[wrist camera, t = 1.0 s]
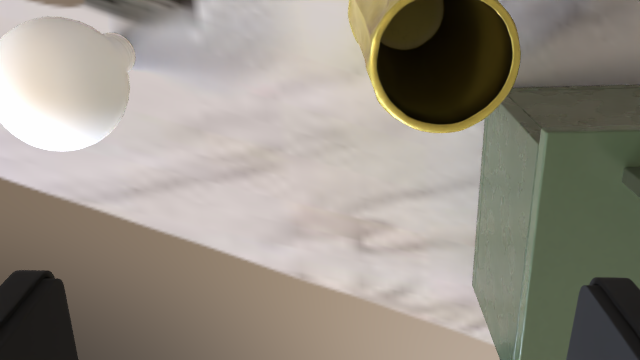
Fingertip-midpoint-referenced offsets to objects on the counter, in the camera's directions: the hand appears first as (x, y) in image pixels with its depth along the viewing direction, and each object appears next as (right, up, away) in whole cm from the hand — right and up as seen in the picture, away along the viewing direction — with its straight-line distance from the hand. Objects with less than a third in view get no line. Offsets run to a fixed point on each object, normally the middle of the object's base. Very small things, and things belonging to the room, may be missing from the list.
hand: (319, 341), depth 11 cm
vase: (+5, +13, +23) cm, 27 cm away
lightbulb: (-12, +10, +24) cm, 29 cm away
